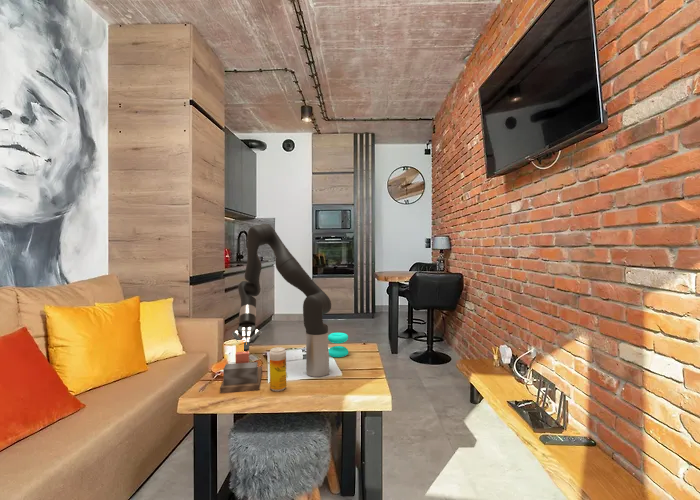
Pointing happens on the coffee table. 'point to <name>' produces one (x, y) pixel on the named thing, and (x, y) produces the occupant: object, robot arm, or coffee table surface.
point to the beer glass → (277, 369)
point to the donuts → (338, 350)
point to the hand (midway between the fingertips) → (245, 351)
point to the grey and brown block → (241, 377)
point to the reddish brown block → (242, 357)
